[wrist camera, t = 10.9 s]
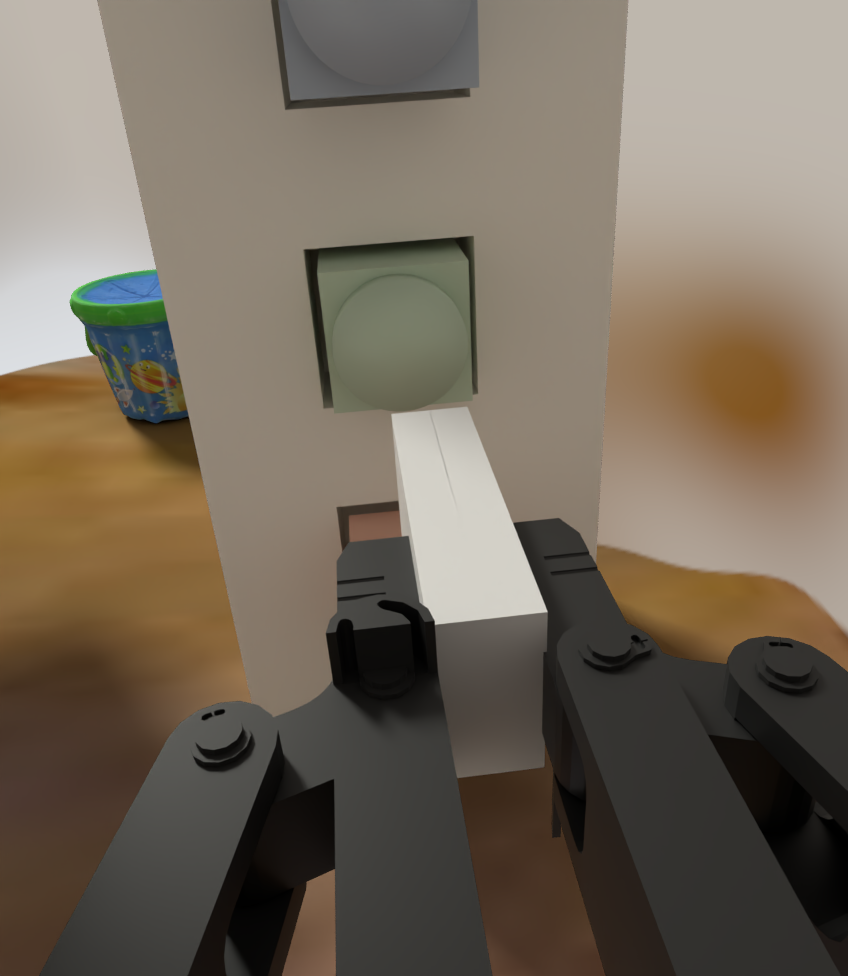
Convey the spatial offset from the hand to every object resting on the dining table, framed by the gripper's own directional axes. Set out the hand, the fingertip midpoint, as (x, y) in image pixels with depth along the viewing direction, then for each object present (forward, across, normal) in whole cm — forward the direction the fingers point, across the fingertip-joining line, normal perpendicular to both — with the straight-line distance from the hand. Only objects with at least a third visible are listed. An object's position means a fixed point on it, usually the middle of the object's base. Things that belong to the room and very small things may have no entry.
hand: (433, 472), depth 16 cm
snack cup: (+48, -17, -17) cm, 54 cm away
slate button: (+8, 0, +7) cm, 10 cm away
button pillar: (+16, 0, -17) cm, 23 cm away
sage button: (+11, 0, -2) cm, 11 cm away
